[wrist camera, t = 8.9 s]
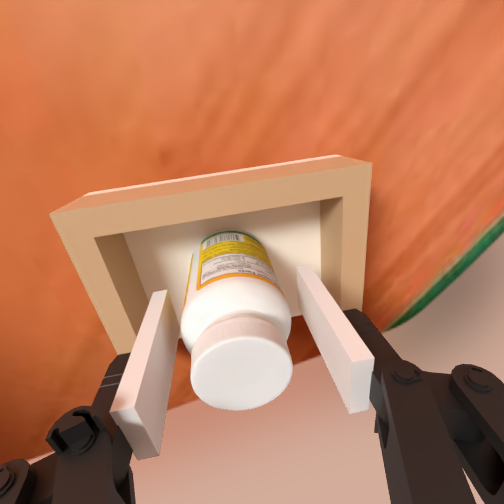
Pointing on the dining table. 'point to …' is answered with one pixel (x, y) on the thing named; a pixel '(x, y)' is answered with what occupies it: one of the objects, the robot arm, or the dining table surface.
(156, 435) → the robot arm
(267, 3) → the dining table surface
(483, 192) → the dining table surface
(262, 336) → the supplement bottle
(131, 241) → the u rest
